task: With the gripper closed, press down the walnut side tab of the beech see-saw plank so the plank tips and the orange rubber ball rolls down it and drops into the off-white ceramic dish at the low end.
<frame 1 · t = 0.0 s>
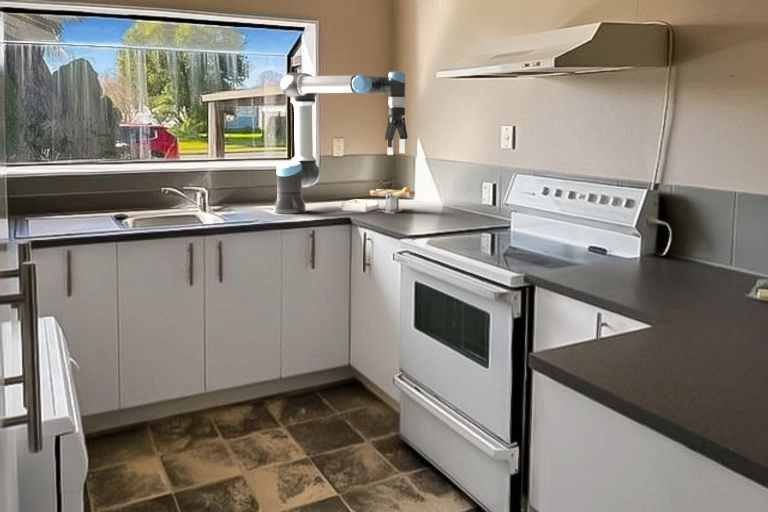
hand: (396, 154, 341), 28 cm above the worktop, fingers open, 13 cm apart
ball: (406, 190, 350), point 10 cm above the worktop, touching lever
dish: (360, 209, 362), on the worktop
lever: (394, 192, 356), point 9 cm above the worktop, hinge at 0.0°, touching ball
stand: (392, 211, 355), on the worktop
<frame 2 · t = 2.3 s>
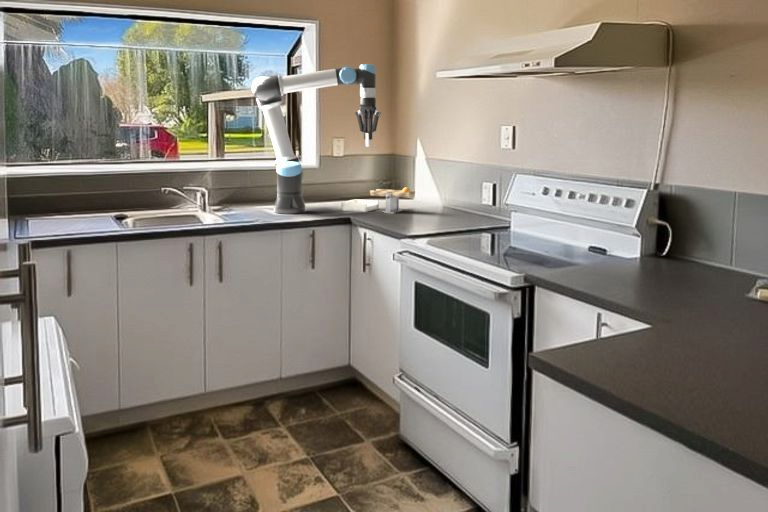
hand: (368, 146, 364), 30 cm above the worktop, fingers closed
nothing on the worktop moved.
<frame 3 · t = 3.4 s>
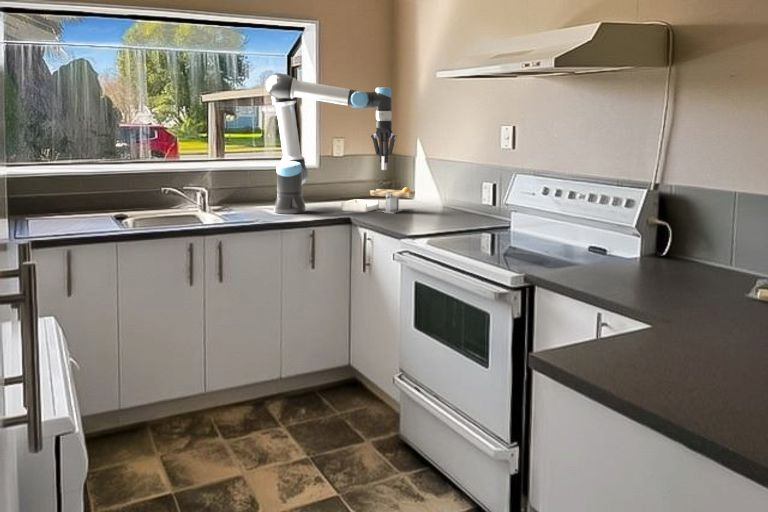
hand: (384, 169, 361), 19 cm above the worktop, fingers closed
nothing on the worktop moved.
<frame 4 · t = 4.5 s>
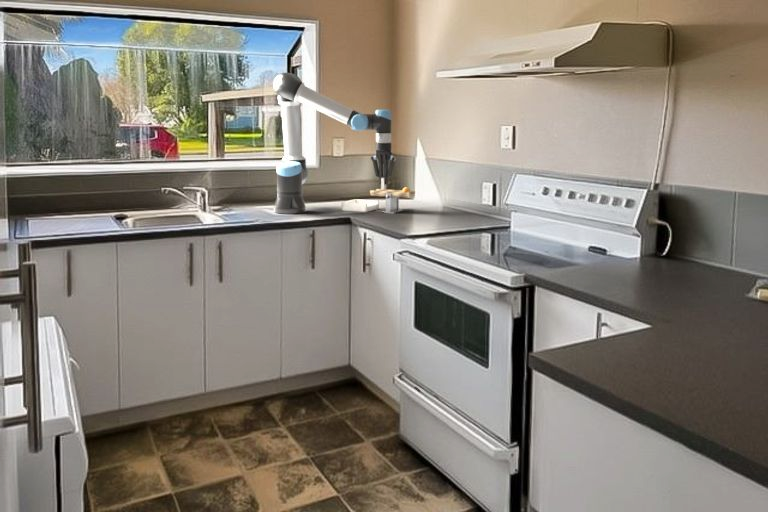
hand: (383, 191, 363), 9 cm above the worktop, fingers closed
lever: (394, 192, 356), point 9 cm above the worktop, hinge at 0.0°, touching ball, gripper
everything else where it was.
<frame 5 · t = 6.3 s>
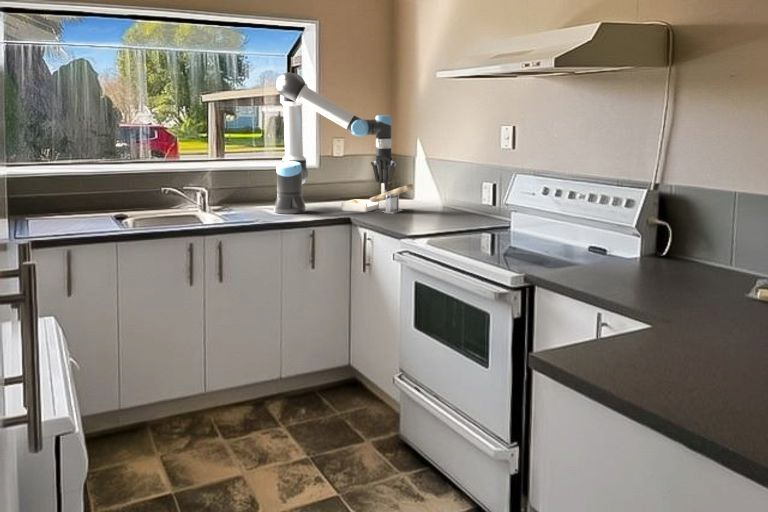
hand: (383, 196, 363), 6 cm above the worktop, fingers closed
ball: (354, 204, 363), point 2 cm above the worktop, tilted 69°, touching dish
lever: (393, 193, 356), point 9 cm above the worktop, hinge at 20.5°, touching gripper
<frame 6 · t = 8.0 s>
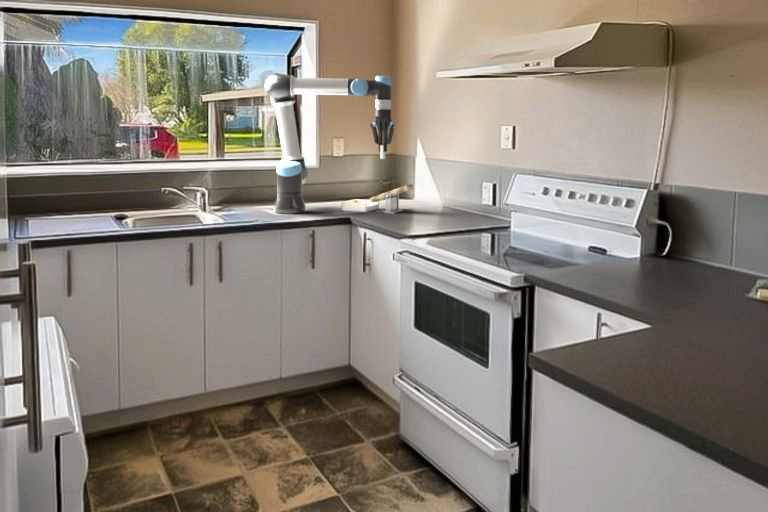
hand: (382, 158, 360), 24 cm above the worktop, fingers closed
ball: (353, 204, 363), point 2 cm above the worktop, tilted 59°, touching dish
lever: (393, 193, 356), point 9 cm above the worktop, hinge at 20.5°
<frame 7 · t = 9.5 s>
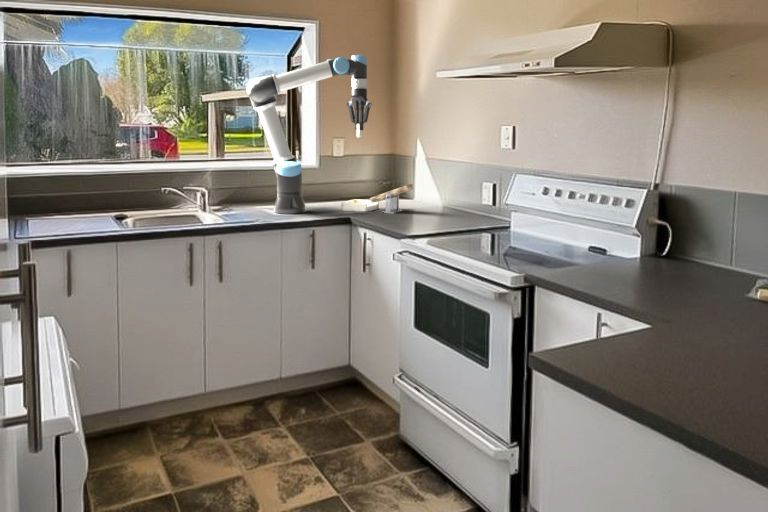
hand: (359, 137, 365), 34 cm above the worktop, fingers closed
nothing on the worktop moved.
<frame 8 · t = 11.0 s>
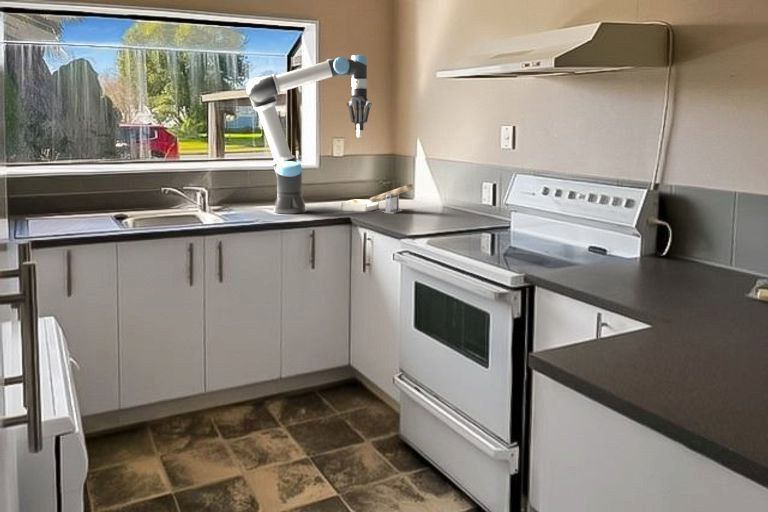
hand: (359, 137, 365), 34 cm above the worktop, fingers closed
nothing on the worktop moved.
at the end: ball inside the target area on the dish (3.4 cm from its centre), point 2.3 cm above the dish's base; ball point 2.3 cm above the worktop; lever at +20° (first picture: +0°) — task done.
